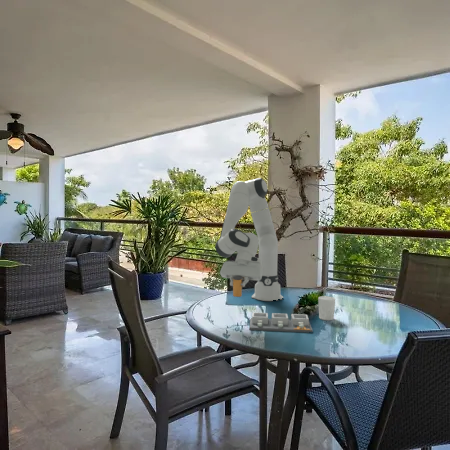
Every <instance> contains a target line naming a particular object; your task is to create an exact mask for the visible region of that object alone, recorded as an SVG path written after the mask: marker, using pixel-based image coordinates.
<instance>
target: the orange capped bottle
mask: <svg viewBox="0 0 450 450" xmlns="http://www.w3.org/2000/svg"><path fill="white" fill-rule="evenodd" d="M232 281H233V286H232V297H235V298H236V297H237V298H238V297H239V298H240V297H242V294H243V291H242V289H243V287H241V282H243V279H242V276H233V280H232Z"/></svg>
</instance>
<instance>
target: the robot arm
mask: <svg viewBox="0 0 450 450" xmlns="http://www.w3.org/2000/svg"><path fill="white" fill-rule="evenodd" d="M267 194H268V185H267V182H266V180H265V179H264V178H261V177H258V178H255V179H250V180H246V181H243V180H237V181H236V182H234V183H233V184H232V186H231V189H230V192H229V197H228V204H227V208H226V212H225V216H224V219H223V223H222V228H221V233H220V235H219V239H218V240H217V241H216V242H215V244H214V246H215V251H216V253H217V254H218V255H219V256H221V257H222V258H226V259H227V258H230V257H231V256H232V255H233V254H234V253H235V252H236V253H237V254H236V258H235V260H226V261H224V262H223V264H222V267H221V269H220V270H219V274H220V277H222V279H223V278H225V279H229V280H230V282H229V285H230V287H233V276H242V282H241V287H242V288H245V287H246V285H247V284H248V283H249V281H257V282H256V283H255V284H254V293H253V294H252V295H251V299H255V300H258V301H264V302H274V301H273V300H276V301H279V300H278V299H280V300H283V299H282V298H284V296H283V295H282V294H281V284H280V283H279V282H278V281H279V275H278V256H279V255H278V254H279V240H278V238H277V234H276V229H275V226H274V222H273V218H272V215H271V211H270V210H271V209H270V207H269V203H268V201H267V199H266V196H267ZM248 210H249V211H250V215H251V219H252V222H253V226H254V229H255V232H256V234H255V233H253V232H243V231H242V230H240V229H238V228H236V226H237V224H238V222H239V221H240V220H241V219H242V217H244V215H245V214H246V213H247V211H248ZM257 253H258V257H256V255H257Z"/></svg>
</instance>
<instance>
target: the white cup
mask: <svg viewBox="0 0 450 450" xmlns="http://www.w3.org/2000/svg"><path fill="white" fill-rule="evenodd" d="M317 300H318V313H319V314H318V318H319V319H320V320H322V321H334V319H335V308H336V298H335V297H333V296H327V295H326V296H325V295H324V296H323V295H321V296H318V299H317Z"/></svg>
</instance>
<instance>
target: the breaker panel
mask: <svg viewBox="0 0 450 450" xmlns="http://www.w3.org/2000/svg"><path fill="white" fill-rule="evenodd" d="M248 328H249V331H268V332H290V333H291V332H292V333H309V332H313V333H314V331H313V328H312V325H311V323H310V320H309V316H308V314H305V313H304V314H301V313H298V314H297V313H291V318H290V319H289V316H288V313H278V312H277V313H275V312H272V313H271V318H269V313H268V312H255V311H254V312H252V315H251V317H250V320H249V327H248Z"/></svg>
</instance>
